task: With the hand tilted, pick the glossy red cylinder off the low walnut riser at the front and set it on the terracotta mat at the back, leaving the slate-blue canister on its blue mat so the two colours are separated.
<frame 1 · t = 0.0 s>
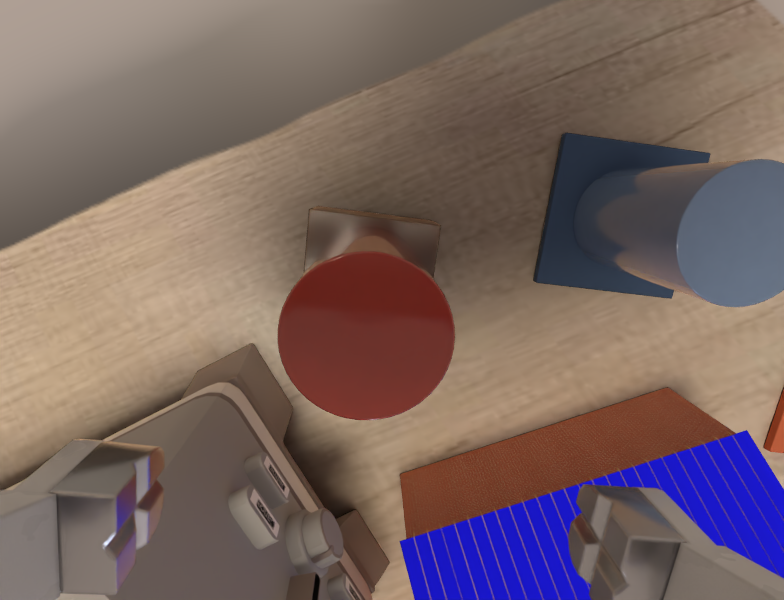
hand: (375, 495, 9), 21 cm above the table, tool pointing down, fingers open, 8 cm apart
blue mat: (616, 218, 29), on the table
house: (550, 496, 34), on the table
toaster: (152, 543, 34), on the table
blue canister: (621, 219, 29), point 1 cm above the table, touching blue mat
riser: (368, 269, 29), on the table
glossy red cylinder: (368, 281, 26), point 4 cm above the table, touching riser
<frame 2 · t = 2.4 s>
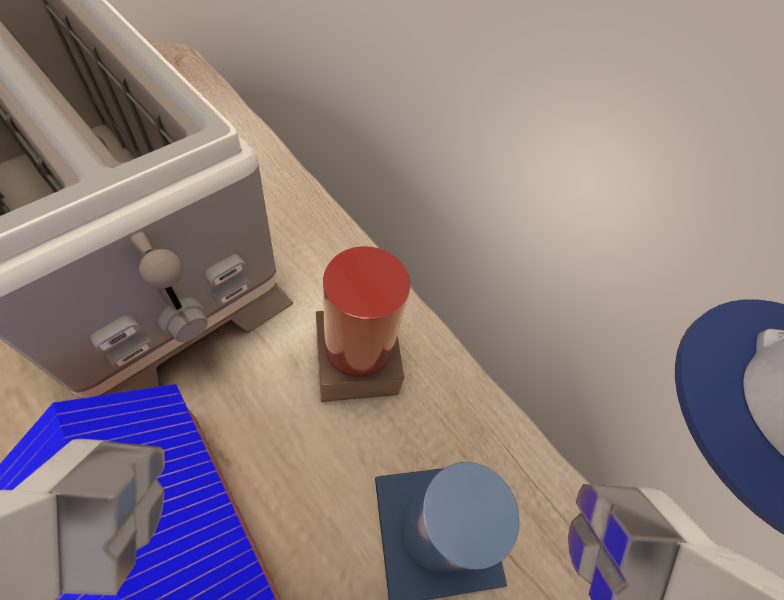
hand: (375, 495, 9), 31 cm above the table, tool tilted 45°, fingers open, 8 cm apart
blue mat: (437, 529, 38), on the table
house: (171, 569, 35), on the table
toaster: (130, 261, 47), on the table
blue canister: (438, 529, 37), point 1 cm above the table, touching blue mat
riser: (356, 362, 44), on the table
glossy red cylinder: (358, 343, 41), point 4 cm above the table, touching riser
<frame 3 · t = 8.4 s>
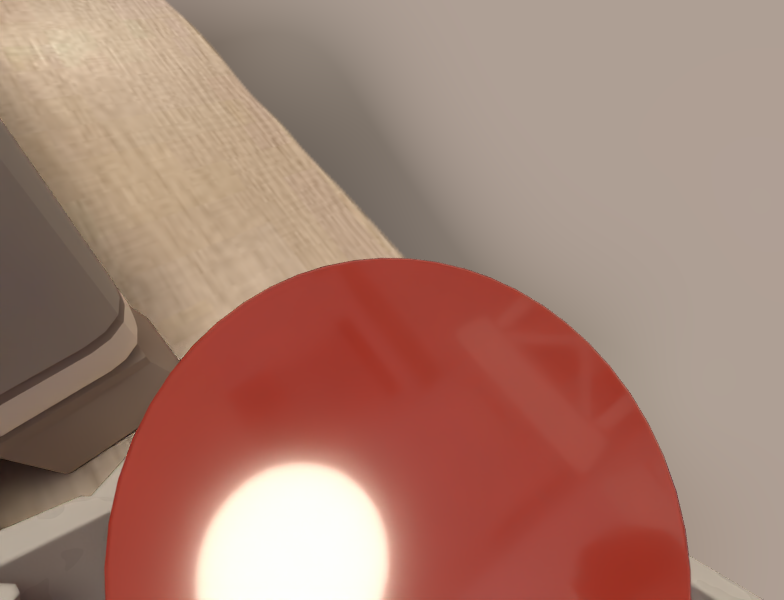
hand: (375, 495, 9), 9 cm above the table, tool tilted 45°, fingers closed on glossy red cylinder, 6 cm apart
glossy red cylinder: (357, 550, 13), point 4 cm above the table, touching gripper, riser
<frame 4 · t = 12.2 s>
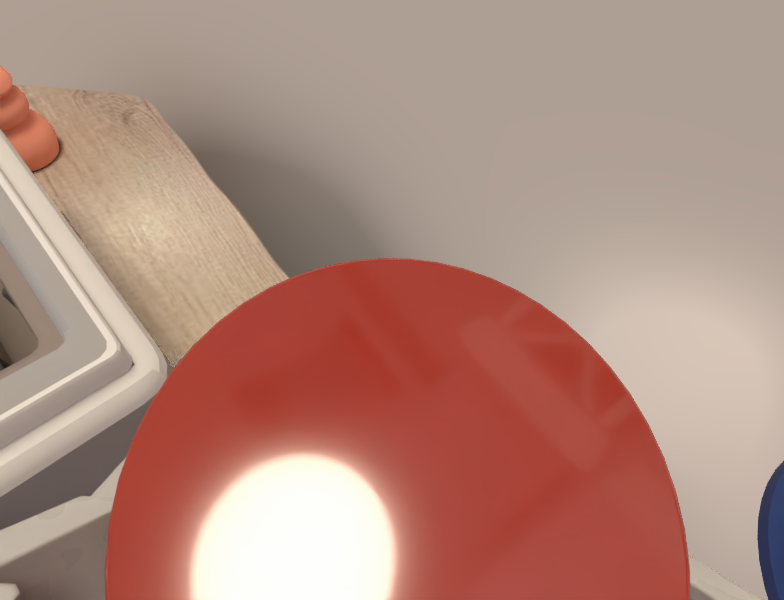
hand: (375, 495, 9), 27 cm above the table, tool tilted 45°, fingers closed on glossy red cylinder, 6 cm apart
toaster: (31, 413, 35), on the table
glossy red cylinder: (358, 550, 13), point 22 cm above the table, touching gripper
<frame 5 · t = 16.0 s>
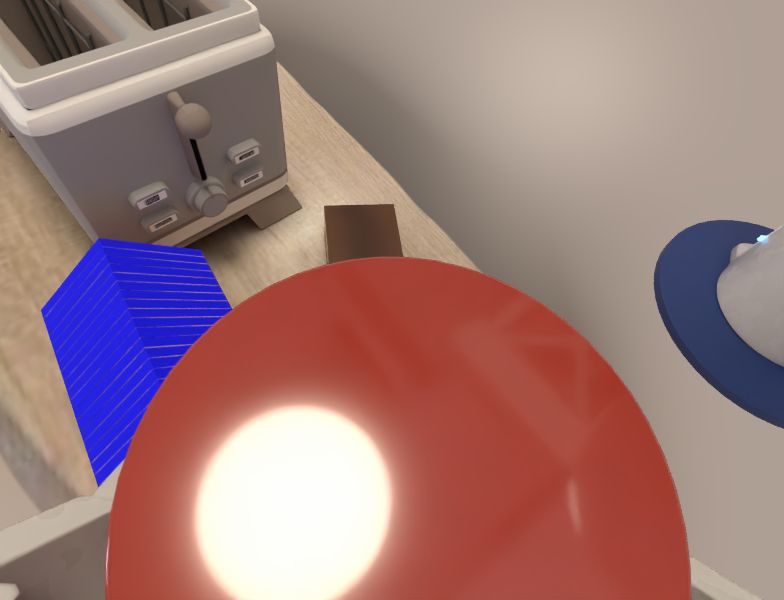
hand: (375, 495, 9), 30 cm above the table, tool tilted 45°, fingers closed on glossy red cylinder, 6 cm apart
house: (194, 413, 39), on the table
toaster: (153, 170, 52), on the table
riser: (360, 256, 49), on the table
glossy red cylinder: (358, 549, 13), point 24 cm above the table, touching gripper
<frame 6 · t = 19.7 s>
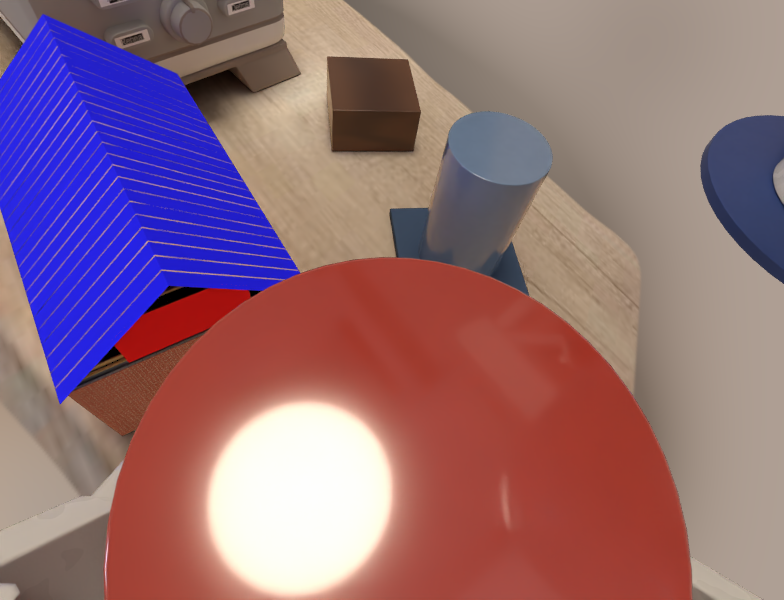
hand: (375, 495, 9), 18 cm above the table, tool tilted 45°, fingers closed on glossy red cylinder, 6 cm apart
blue mat: (456, 258, 35), on the table
house: (167, 271, 32), on the table
toaster: (129, 32, 45), on the table
blue canister: (458, 253, 35), point 1 cm above the table, touching blue mat
riser: (368, 123, 42), on the table
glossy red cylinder: (358, 550, 13), point 13 cm above the table, touching gripper
when the fingers open (6 cm above the table, at t = 23.4 s): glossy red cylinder stays where it is, resting on red mat.
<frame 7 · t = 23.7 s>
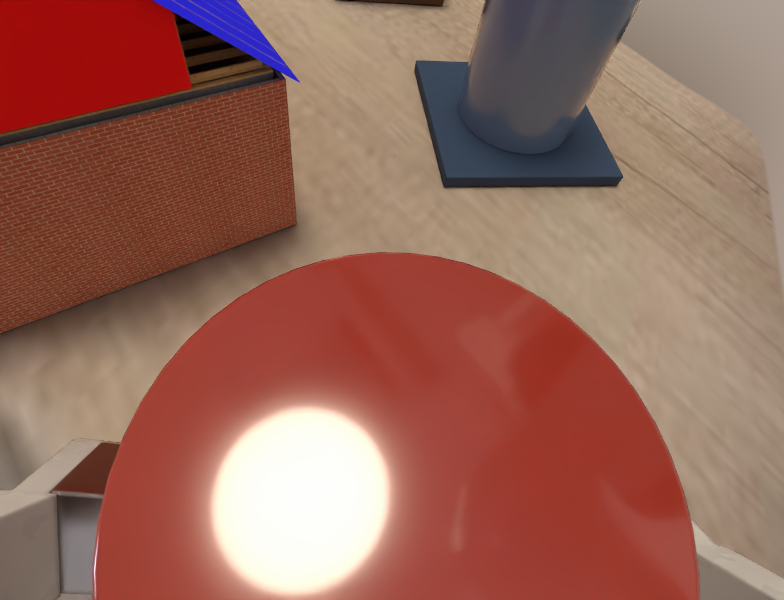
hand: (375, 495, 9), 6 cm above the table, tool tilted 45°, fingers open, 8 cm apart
blue mat: (509, 124, 25), on the table
house: (90, 122, 22), on the table
blue canister: (513, 114, 25), point 1 cm above the table, touching blue mat
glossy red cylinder: (357, 551, 13), point 1 cm above the table, touching red mat
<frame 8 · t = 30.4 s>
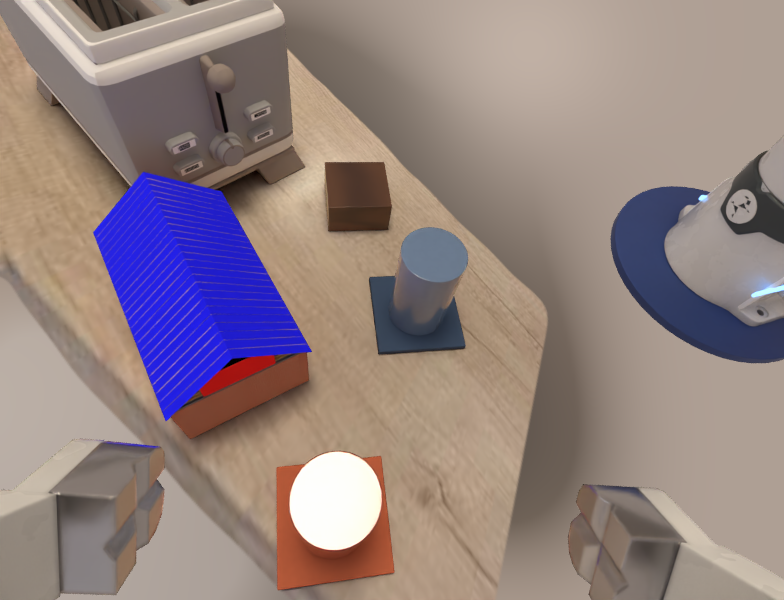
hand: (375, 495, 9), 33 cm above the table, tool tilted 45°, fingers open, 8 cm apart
blue mat: (415, 313, 50), on the table
house: (213, 326, 47), on the table
toaster: (176, 135, 60), on the table
blue canister: (416, 310, 50), point 1 cm above the table, touching blue mat
riser: (355, 207, 57), on the table
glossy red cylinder: (333, 518, 39), point 1 cm above the table, touching red mat
red mat: (333, 518, 39), on the table
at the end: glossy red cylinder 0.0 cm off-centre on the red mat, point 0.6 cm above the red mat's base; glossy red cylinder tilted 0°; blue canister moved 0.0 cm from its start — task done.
